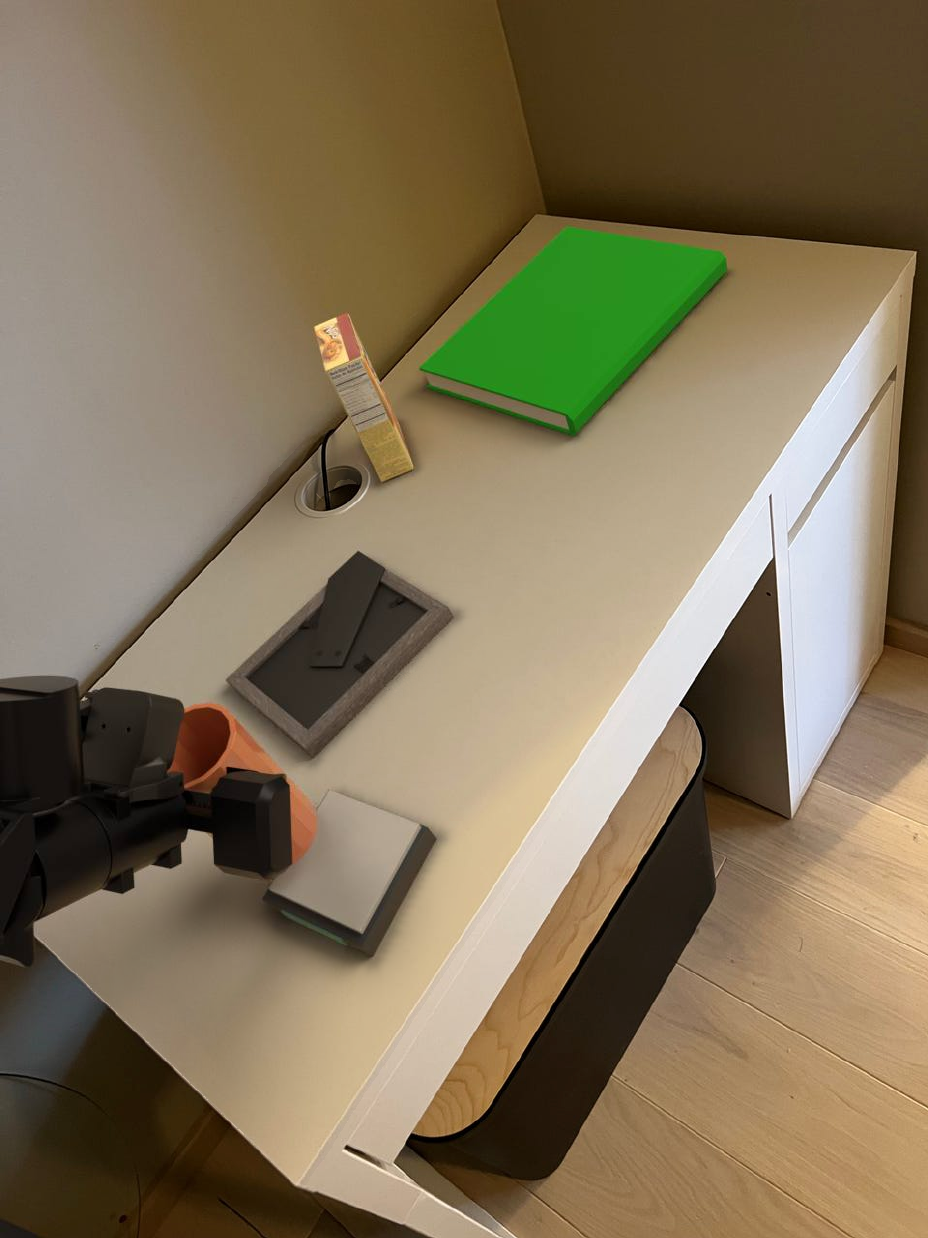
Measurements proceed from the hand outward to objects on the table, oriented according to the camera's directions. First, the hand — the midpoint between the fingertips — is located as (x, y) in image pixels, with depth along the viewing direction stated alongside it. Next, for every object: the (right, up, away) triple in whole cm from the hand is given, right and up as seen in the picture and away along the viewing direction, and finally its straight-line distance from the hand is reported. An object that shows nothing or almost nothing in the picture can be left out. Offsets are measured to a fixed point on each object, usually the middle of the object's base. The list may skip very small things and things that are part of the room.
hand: (244, 774), depth 70 cm
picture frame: (+5, +8, +21) cm, 22 cm away
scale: (+7, -9, +5) cm, 13 cm away
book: (+29, +44, +40) cm, 66 cm away
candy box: (+8, +30, +37) cm, 48 cm away
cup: (+2, -5, +4) cm, 7 cm away
